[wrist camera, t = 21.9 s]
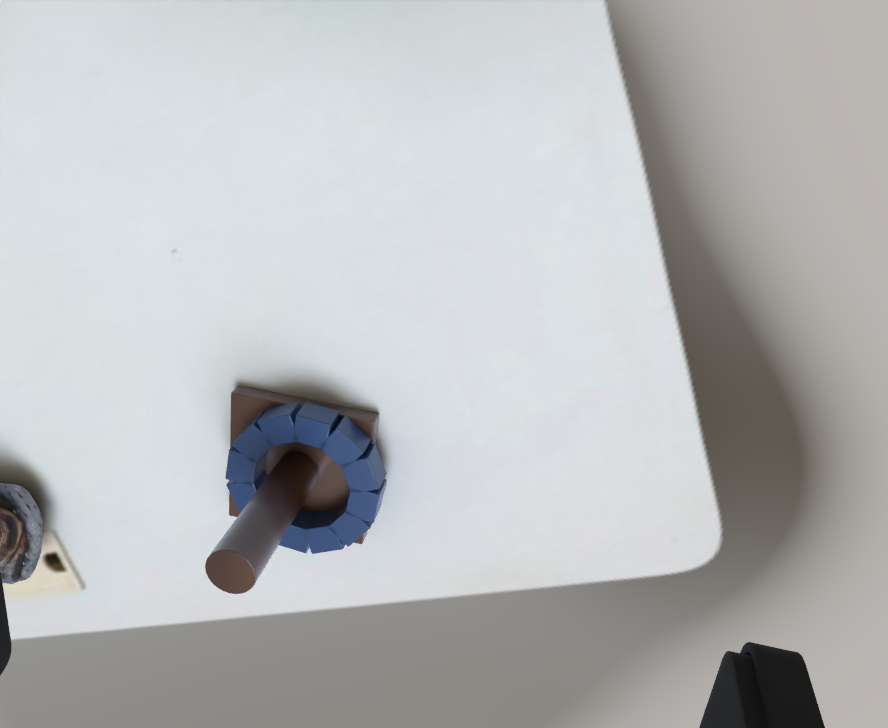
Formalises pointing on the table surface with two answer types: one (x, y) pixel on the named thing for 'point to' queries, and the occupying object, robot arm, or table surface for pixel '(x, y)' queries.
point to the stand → (278, 491)
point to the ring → (338, 443)
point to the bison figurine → (18, 533)
